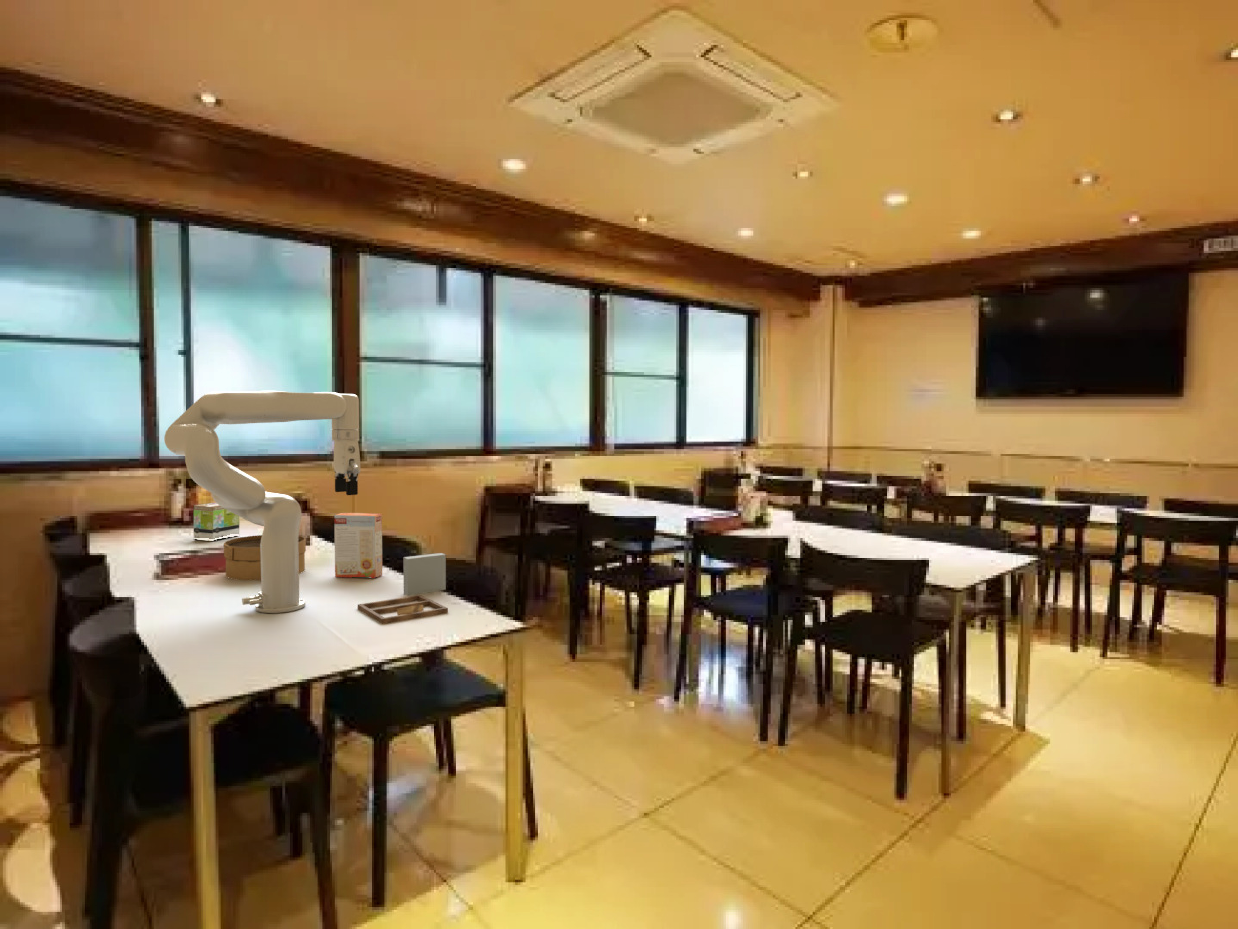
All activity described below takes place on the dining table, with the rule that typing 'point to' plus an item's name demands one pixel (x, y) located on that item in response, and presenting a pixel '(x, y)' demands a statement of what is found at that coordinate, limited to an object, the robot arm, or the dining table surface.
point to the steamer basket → (251, 557)
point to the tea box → (214, 521)
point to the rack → (423, 601)
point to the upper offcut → (409, 609)
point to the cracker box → (358, 545)
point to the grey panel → (424, 573)
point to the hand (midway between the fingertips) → (346, 493)
